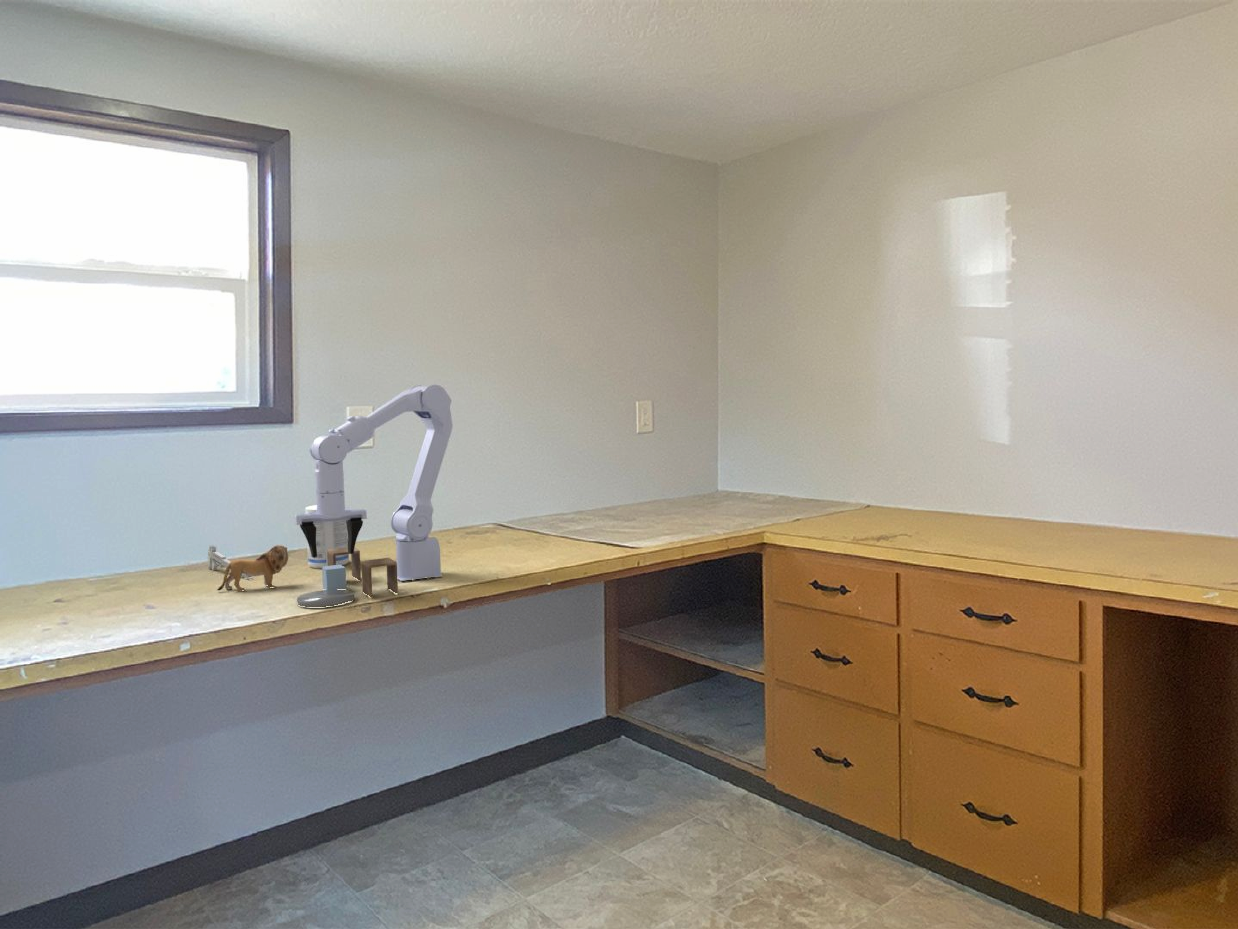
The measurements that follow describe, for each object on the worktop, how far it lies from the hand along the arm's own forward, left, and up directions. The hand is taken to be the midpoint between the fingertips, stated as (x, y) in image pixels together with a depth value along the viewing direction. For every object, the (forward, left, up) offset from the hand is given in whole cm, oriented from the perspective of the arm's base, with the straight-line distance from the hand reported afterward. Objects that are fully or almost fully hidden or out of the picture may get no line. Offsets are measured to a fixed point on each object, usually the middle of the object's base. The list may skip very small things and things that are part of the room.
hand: (332, 554), depth 182 cm
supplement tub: (-5, -28, -8) cm, 30 cm away
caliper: (+17, -31, -8) cm, 36 cm away
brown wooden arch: (-4, -8, -8) cm, 12 cm away
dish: (+4, +10, -8) cm, 13 cm away
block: (0, 0, -8) cm, 8 cm away
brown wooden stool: (-7, +10, -8) cm, 14 cm away
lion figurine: (+14, -12, -8) cm, 20 cm away
